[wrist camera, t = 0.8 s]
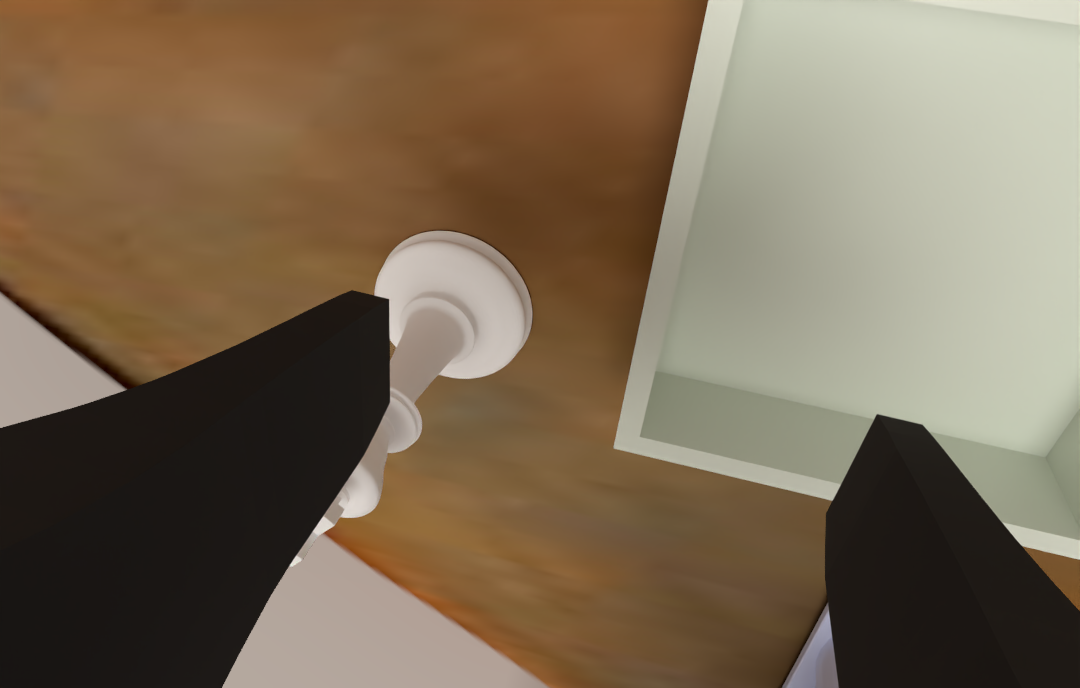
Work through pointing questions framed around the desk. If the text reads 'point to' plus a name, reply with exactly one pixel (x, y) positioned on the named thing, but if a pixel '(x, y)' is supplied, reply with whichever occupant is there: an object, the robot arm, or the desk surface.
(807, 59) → the box
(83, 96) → the desk surface
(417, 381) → the chess piece
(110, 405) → the robot arm
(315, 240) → the desk surface
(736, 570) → the desk surface
